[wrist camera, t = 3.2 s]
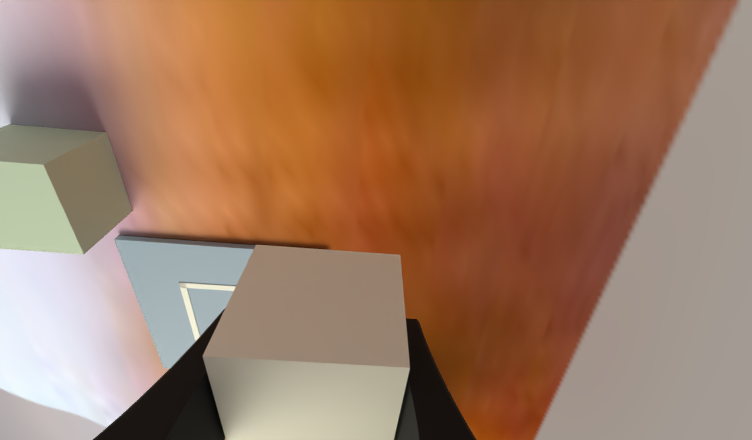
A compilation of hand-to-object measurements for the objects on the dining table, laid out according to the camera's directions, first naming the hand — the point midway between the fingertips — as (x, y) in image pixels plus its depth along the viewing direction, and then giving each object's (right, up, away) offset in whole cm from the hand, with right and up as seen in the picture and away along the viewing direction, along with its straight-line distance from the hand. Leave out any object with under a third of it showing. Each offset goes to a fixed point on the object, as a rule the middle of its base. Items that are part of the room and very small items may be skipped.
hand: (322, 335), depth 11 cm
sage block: (-14, +6, +7) cm, 17 cm away
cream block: (0, +1, +1) cm, 1 cm away
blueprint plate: (-8, -3, +13) cm, 15 cm away
